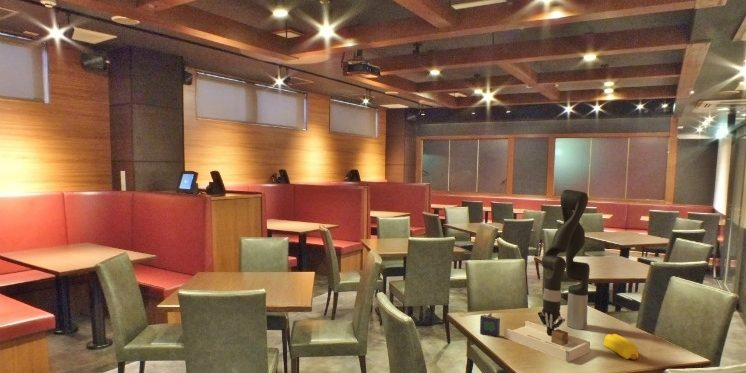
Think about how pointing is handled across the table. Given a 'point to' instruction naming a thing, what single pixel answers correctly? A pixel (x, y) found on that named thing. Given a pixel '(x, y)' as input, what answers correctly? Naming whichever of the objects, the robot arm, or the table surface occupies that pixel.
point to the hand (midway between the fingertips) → (550, 335)
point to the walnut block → (559, 337)
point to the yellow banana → (621, 346)
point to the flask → (489, 325)
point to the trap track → (547, 342)
